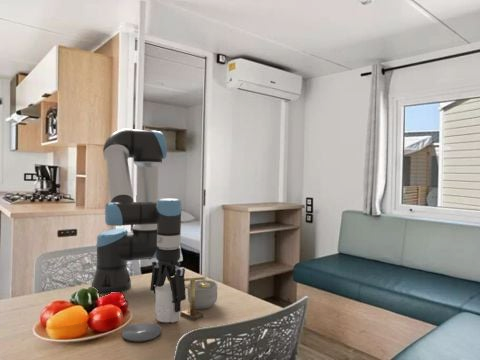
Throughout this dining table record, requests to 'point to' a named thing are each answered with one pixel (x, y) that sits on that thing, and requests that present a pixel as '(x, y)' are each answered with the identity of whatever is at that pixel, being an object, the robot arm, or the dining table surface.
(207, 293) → the teacup
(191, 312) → the balance
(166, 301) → the white cup
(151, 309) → the dining table surface
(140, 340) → the dish
